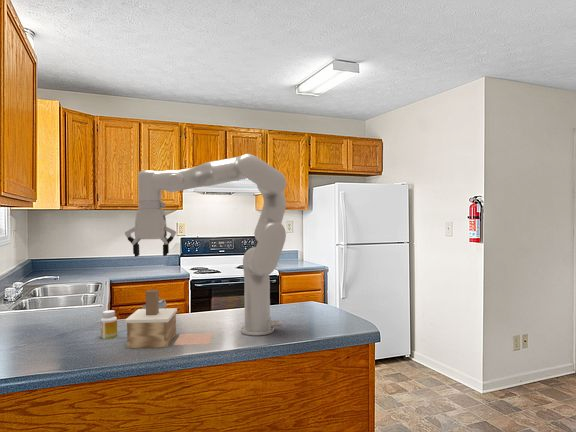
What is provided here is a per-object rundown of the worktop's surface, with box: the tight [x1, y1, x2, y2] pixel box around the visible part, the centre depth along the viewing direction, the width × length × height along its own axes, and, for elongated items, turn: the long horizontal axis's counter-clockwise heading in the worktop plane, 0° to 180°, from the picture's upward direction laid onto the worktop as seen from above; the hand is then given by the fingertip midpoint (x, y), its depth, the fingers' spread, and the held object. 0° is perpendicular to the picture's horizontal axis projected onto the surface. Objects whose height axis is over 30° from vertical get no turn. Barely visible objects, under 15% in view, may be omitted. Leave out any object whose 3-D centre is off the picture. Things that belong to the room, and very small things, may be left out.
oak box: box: [126, 312, 177, 349], centre depth 150 cm, size 13×14×9 cm
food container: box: [141, 298, 168, 309], centre depth 169 cm, size 12×6×10 cm, turn 168°
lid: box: [124, 289, 178, 324], centre depth 150 cm, size 14×15×9 cm
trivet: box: [172, 333, 214, 346], centre depth 152 cm, size 12×12×1 cm
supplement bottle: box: [100, 309, 118, 340], centre depth 155 cm, size 5×5×10 cm
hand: (151, 255), depth 150 cm, fingers open, 9 cm apart
